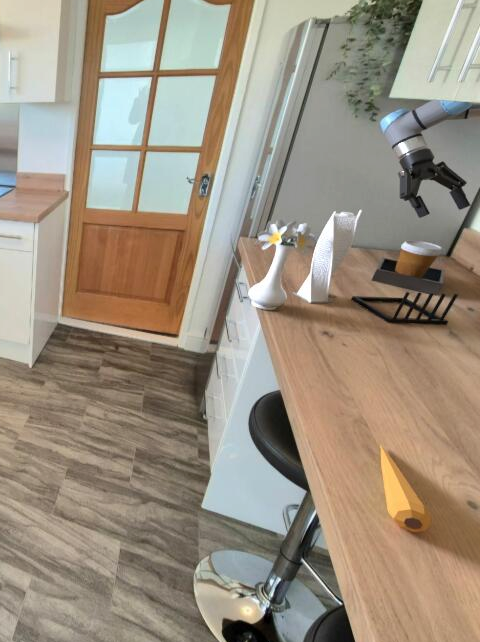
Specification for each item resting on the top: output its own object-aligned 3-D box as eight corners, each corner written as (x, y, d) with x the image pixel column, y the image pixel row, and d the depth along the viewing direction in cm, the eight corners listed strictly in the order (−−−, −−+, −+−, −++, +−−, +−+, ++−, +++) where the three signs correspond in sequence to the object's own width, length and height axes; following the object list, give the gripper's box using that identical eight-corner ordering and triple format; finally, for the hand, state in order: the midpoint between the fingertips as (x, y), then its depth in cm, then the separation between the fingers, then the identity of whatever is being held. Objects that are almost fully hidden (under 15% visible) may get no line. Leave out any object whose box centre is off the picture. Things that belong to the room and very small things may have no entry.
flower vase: (294, 301, 128) (327, 219, 116) (282, 323, 116) (317, 234, 104) (245, 288, 135) (271, 210, 124) (229, 308, 123) (256, 224, 112)
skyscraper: (336, 305, 126) (378, 211, 113) (310, 305, 125) (349, 211, 112) (313, 292, 133) (351, 203, 120) (289, 293, 132) (323, 203, 120)
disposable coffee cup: (379, 275, 144) (395, 241, 138) (398, 272, 146) (415, 238, 141) (413, 287, 136) (432, 251, 130) (432, 283, 138) (451, 248, 133)
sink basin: (377, 268, 151) (382, 257, 149) (438, 281, 141) (444, 270, 139) (371, 280, 141) (376, 269, 140) (435, 295, 132) (442, 283, 130)
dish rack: (403, 301, 128) (418, 273, 124) (446, 324, 115) (464, 295, 111) (350, 299, 129) (363, 272, 125) (388, 322, 116) (403, 293, 112)
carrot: (415, 542, 61) (445, 527, 59) (382, 519, 62) (411, 504, 60) (382, 460, 77) (405, 446, 75) (356, 443, 78) (378, 429, 76)
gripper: (437, 154, 145) (468, 209, 139) (367, 167, 144) (396, 224, 139) (461, 140, 138) (495, 198, 132) (388, 154, 137) (419, 213, 131)
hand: (444, 211), depth 135 cm, fingers open, 13 cm apart
